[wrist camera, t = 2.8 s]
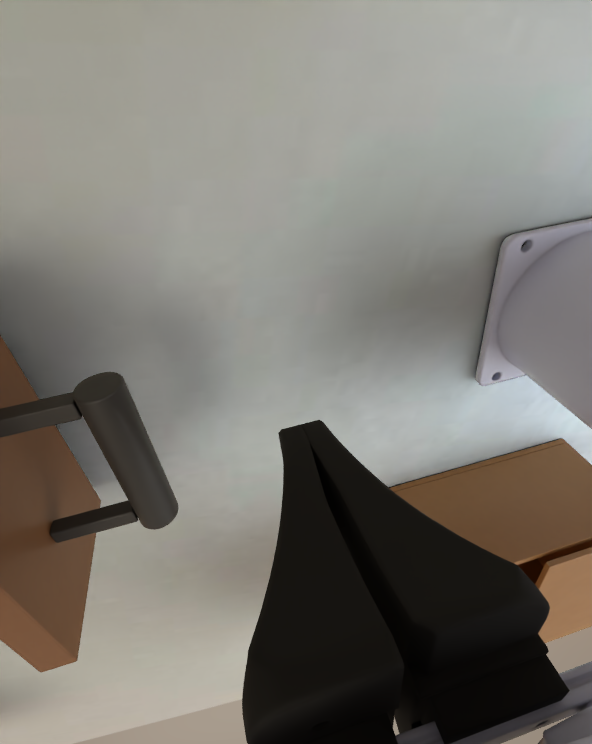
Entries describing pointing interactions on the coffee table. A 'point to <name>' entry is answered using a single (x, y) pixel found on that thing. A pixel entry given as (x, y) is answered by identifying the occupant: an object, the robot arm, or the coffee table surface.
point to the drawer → (64, 505)
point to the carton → (524, 521)
